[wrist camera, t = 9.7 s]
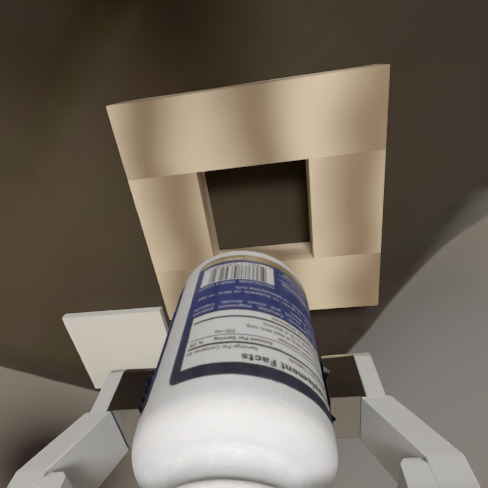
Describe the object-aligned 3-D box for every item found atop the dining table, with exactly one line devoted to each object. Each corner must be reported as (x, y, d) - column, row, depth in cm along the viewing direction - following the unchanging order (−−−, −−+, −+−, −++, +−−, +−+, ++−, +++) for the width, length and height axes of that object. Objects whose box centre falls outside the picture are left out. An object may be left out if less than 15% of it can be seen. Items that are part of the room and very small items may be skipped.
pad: (98, 383, 35) (95, 388, 35) (65, 313, 31) (61, 318, 31) (183, 379, 34) (182, 384, 34) (161, 306, 30) (159, 311, 30)
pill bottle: (250, 364, 17) (241, 681, 8) (158, 304, 15) (30, 614, 7) (333, 296, 15) (435, 624, 6) (236, 220, 13) (191, 513, 5)
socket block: (177, 300, 30) (169, 319, 28) (121, 101, 22) (105, 106, 20) (369, 285, 28) (378, 305, 26) (376, 64, 21) (389, 64, 18)
